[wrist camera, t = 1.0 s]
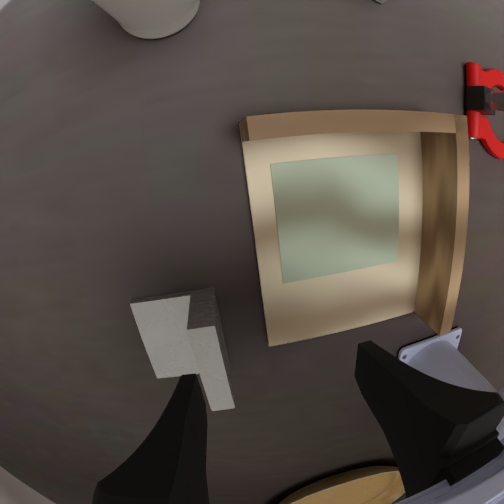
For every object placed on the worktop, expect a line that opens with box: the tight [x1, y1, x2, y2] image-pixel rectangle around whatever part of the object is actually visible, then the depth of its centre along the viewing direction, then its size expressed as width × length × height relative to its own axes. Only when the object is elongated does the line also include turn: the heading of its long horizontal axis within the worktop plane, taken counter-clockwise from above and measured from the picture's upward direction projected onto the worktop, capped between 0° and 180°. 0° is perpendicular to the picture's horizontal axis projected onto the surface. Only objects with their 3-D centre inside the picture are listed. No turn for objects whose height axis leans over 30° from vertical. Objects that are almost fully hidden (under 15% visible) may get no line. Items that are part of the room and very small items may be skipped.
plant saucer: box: [278, 466, 405, 504], centre depth 35 cm, size 24×24×3 cm
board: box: [239, 122, 423, 347], centre depth 21 cm, size 16×14×1 cm
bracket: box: [130, 287, 235, 411], centre depth 20 cm, size 7×6×5 cm
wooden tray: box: [240, 110, 469, 336], centre depth 19 cm, size 16×14×4 cm
